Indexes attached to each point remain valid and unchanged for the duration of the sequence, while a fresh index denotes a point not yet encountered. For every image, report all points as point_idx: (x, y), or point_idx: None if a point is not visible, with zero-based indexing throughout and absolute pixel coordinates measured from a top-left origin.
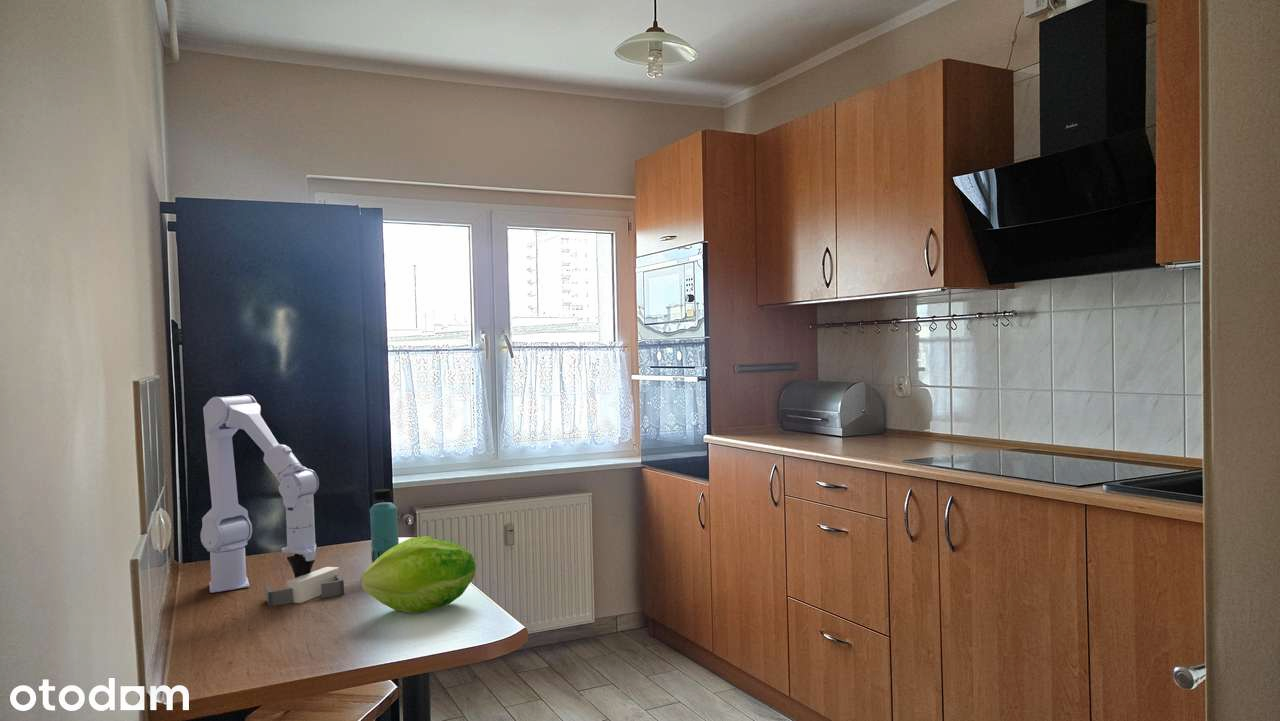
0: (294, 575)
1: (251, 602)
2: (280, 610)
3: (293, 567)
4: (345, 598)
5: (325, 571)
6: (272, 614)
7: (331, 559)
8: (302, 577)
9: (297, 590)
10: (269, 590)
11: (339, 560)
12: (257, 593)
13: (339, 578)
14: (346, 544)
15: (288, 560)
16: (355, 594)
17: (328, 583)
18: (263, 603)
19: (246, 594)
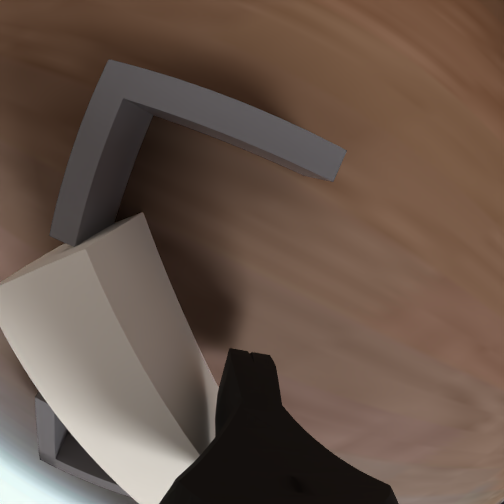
0: (277, 399)
1: (354, 80)
2: (28, 109)
3: (230, 446)
4: (6, 383)
5: (153, 501)
6: (11, 60)
7: (480, 486)
8: (104, 388)
9: (34, 262)
10: (163, 90)
11: (457, 499)
12: (476, 211)
13: (88, 477)
14: (501, 499)
15: (349, 491)
16: (36, 426)
17: (37, 418)
18: (259, 102)
19: (500, 173)
